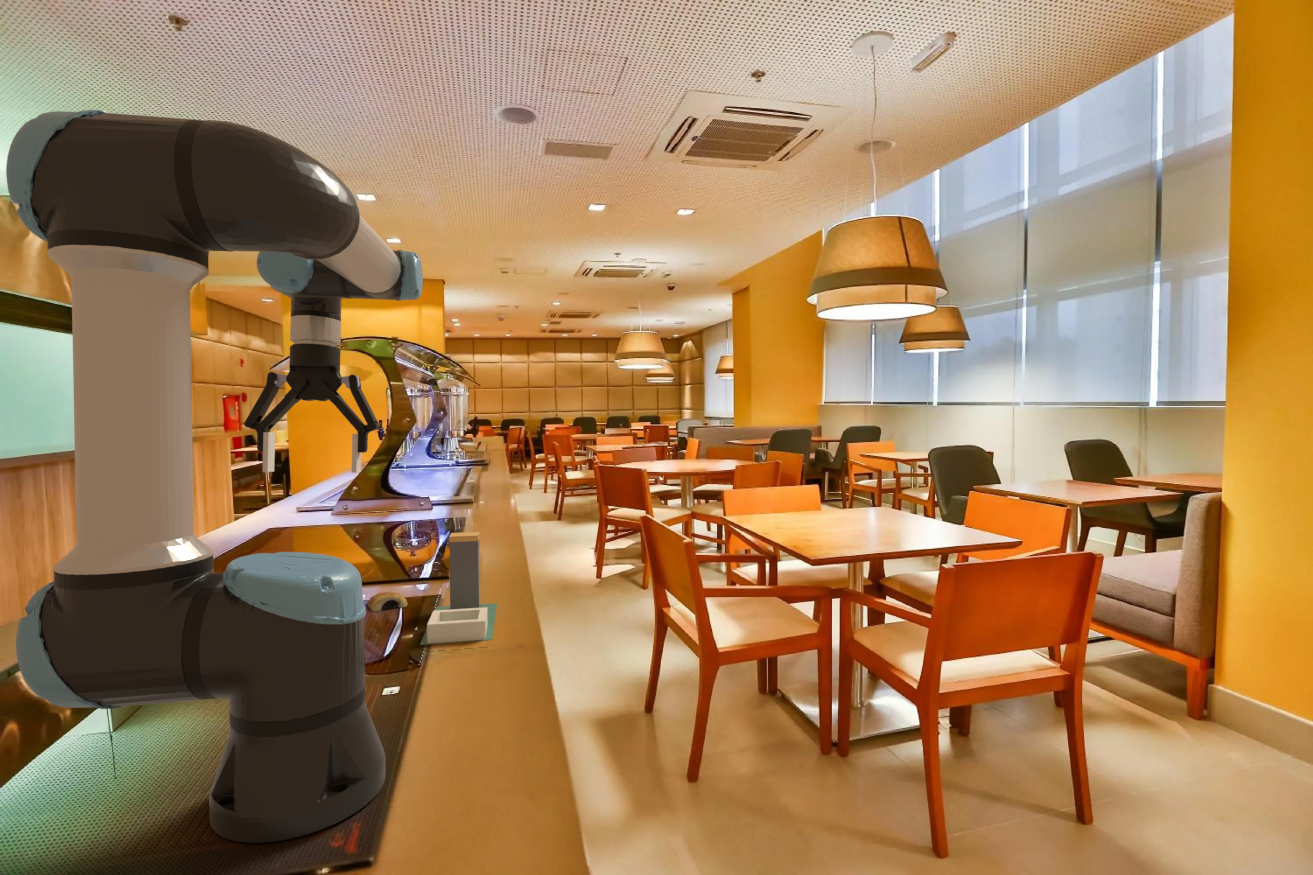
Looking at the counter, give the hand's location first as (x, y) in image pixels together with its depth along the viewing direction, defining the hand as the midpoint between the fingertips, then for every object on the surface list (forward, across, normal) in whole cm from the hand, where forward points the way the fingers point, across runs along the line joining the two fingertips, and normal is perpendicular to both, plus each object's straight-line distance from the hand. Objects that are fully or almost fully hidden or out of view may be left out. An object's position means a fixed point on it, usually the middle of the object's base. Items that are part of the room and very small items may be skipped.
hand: (312, 472), depth 108 cm
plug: (+25, -24, -7) cm, 36 cm away
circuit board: (+27, -25, 0) cm, 36 cm away
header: (+26, -25, +6) cm, 36 cm away
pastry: (+27, -9, -14) cm, 32 cm away
